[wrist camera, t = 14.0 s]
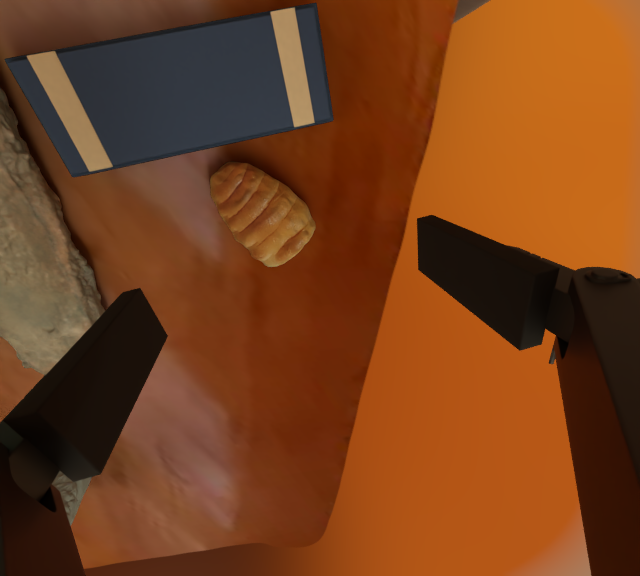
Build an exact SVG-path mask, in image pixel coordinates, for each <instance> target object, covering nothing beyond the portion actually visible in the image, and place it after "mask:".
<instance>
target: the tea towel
mask: <svg viewBox="0 0 640 576" xmlns="http://www.w3.org/2000/svg"><path fill="white" fill-rule="evenodd" d="M4 60H5V62H6V63H7V65H8V67H9V69H10V70H11V72H12V74H13V76H14V77H15V79H16V81H17V82H18V84H19V86H20V88H21V89H22V91H23V93H24V95H25V96H26V98H27V100H28V101H29V103H30V105H31V107H32V108H33V110H34V112H35V114H36V115H37V117H38V119H39V120H40V122H41V124H42V126H43V127H44V129H45V131H46V133H47V134H48V136H49V138H50V139H51V141H52V143H53V145H54V146H55V148H56V150H57V152H58V153H59V155H60V157H61V159H62V160H63V162H64V164H65V165H66V167H67V169H68V171H69V172H70V174H71V176H72V177H78V176H84V175H89V174H94V173H98V172H103V171H108V170H112V169H117V168H121V167H126V166H130V165H135V164H140V163H144V162H149V161H153V160H158V159H163V158H167V157H172V156H176V155H181V154H185V153H190V152H195V151H199V150H204V149H208V148H213V147H217V146H222V145H227V144H231V143H236V142H240V141H245V140H250V139H254V138H259V137H263V136H268V135H272V134H277V133H282V132H286V131H291V130H295V129H300V128H304V127H309V126H314V125H318V124H323V123H327V122H331V121H333V120H334V119H333V113H332V106H331V99H330V92H329V85H328V79H327V72H326V65H325V58H324V51H323V44H322V38H321V31H320V24H319V17H318V10H317V4H316V3H311V4H305V5H300V6H294V7H289V8H283V9H278V10H272V11H267V12H261V13H256V14H250V15H245V16H239V17H233V18H228V19H222V20H217V21H211V22H206V23H200V24H195V25H189V26H184V27H178V28H173V29H167V30H161V31H156V32H150V33H145V34H139V35H134V36H128V37H123V38H117V39H112V40H106V41H101V42H95V43H90V44H84V45H78V46H73V47H67V48H62V49H56V50H51V51H45V52H40V53H34V54H29V55H23V56H18V57H12V58H6V59H4Z"/></svg>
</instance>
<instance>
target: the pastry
mask: <svg viewBox="0 0 640 576" xmlns="http://www.w3.org/2000/svg"><path fill="white" fill-rule="evenodd" d="M210 188H211V191H210V194H211V197H212V199H213V200H214V203H215V204H216V206H217V208H218V212H219V214H220V215H221V217H222V219H223V220H224V221H225V223H226V225H227V226H228V228H229V229H230V230H231V231H232V233H233V236H234V238H235V240H236V241H238V242H239V243H241V244H243V245H244V247H246V248H247V249H248V250H249V251H250V255H251V256H252V257H253V258H254V259H257V260H260V261H262V262H263V263H264V265H266V266H268V267H273V266H274V267H276V266H279V265H282V264H284V263H286V262H287V261H288V260H290V259H291V258H292V257H294V256H295V255H296V254H297V253H299V252H300V251H301V249H302V248H303V246H304V245H305V244H306V243H307V242H308V241H309V240H310V238H311V236H312V235H313V232H314V230H315V227H316V225H315V222H314V220H313V219H312V217H311V215H310V211H309V209H308V206H307V205H306V204H305V202H304V201H302V200H301V199H300V198H298V197H297V195H296V194H294V193H293V192H292V190H291V189H290V188H289V187H288V186H286V185H284V184H282V183H281V182H280V181H278V180H276V179H274V178H272V177H271V176H269V175H268V174H266V173H264V172H263V171H262V170H260V169H258V168H256V167H254V166H252V165H250V164H248V163H239V162H232V161H231V162H227V163H225V164H224V165H223V166H221V168H220V169H219V170H218V171H217V172H216V173H214V174H213V175H212V177H211V179H210Z"/></svg>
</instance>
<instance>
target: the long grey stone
mask: <svg viewBox="0 0 640 576" xmlns="http://www.w3.org/2000/svg"><path fill="white" fill-rule="evenodd" d="M17 125H18V120H17V118H16V116H15V114H14V111H13V110H12V108H10V107H9V103H8V99H7V96H6V94H5V92H4V91H3V90H2V89H1V88H0V337H3V338H4V339H5V340H7V341H8V342H9V344H11V345H12V347H13V348H14V349H15V350H16V352H17V357H18V359H20V360H21V361H22V365H23V366H24V368H33V369H35V370H36V371H37V372H39V373H42V374H44V375H46V374H47V373H48V372H49V371H50V370H51V369H52V368H53V367H54V366H55V364H56V363H57V362H58V361H59V360H60V359H61V358H62V357H63V356H64V355H65V354H66V353H67V352H68V351H69V349H70V348H71V347H72V346H73V345H74V344H75V343H76V342H77V341H78V340H79V339H80V338H81V337H82V336H83V334H84V333H85V332H86V331H87V330H88V329H89V328H90V327H91V326H92V325H93V324H94V323H95V322H96V320H97V319H98V318H99V317H100V316H101V315H102V314H103V313H104V312H105V309H104V308H103V306H102V305H101V295H100V293H99V292H98V291H97V288H96V281H95V277H94V273H93V272H94V271H93V270H92V268H91V266H89V265H88V264H87V260H86V259H85V258H84V257H83V256H82V255H81V254H80V253H79V250H78V249H76V247H75V245H74V243H73V242H72V241H71V238H70V237H71V233H70V231H69V230H68V228H67V226H66V224H65V223H64V221H63V213H62V211H61V208H62V205H61V203H60V199H59V197H58V196H57V195H56V193H55V192H53V191H52V189H51V188H50V187H49V186H48V184H47V182H46V180H45V179H44V177H43V176H42V174H41V172H40V169H39V167H38V166H37V164H36V163H35V162H34V159H33V158H32V156H31V155H30V154H29V149H28V147H27V143H26V142H25V141H24V140H23V139H21V137H20V135H19V133H18V129H17Z"/></svg>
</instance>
